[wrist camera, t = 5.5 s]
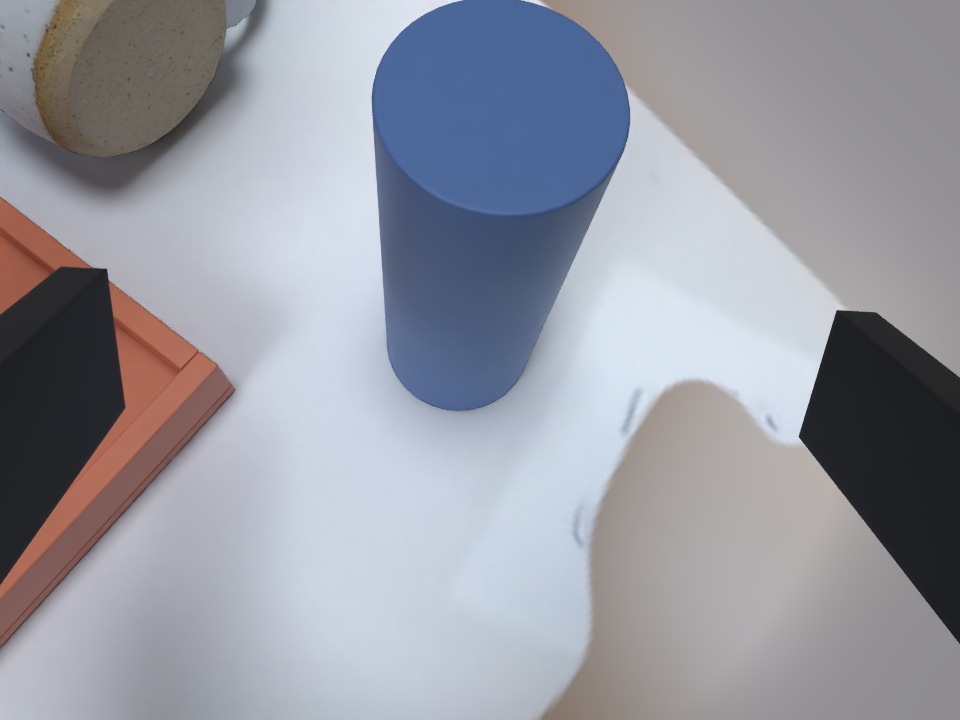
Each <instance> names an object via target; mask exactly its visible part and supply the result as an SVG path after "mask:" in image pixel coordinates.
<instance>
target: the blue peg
mask: <svg viewBox="0 0 960 720" xmlns="http://www.w3.org/2000/svg"><path fill="white" fill-rule="evenodd" d="M372 113H373V129H374V145H375V161H376V176H377V192H378V208H379V224H380V240H381V256H382V271H383V287H384V303H385V319H386V335H387V350H388V355H389V360H390V362H391V365H392V368H393V370H394V372H395V374H396V376H397V377H398V379H399V380H400V382H401V383H402V384H403V385H404V386H405V387H406V388H407V390H409V391H410V392H411V393H412V394H413V395H414V396H416V397H418V398H419V399H421V400H422V401H424V402H426V403H428V404H430V405H433V406H436V407H439V408H443V409H448V410H470V409H475V408H479V407H482V406H485V405H488V404H490V403H492V402H494V401H496V400H497V399H499V398H501V397H502V396H503V395H504V394H506V393H507V392H508V391H509V390H510V389H511V388H512V387H513V386H514V384H515V383H516V382H517V380H518V379H519V377H520V375H521V373H522V371H523V369H524V367H525V365H526V363H527V361H528V358H529V356H530V354H531V352H532V350H533V347H534V345H535V343H536V341H537V339H538V337H539V334H540V332H541V330H542V328H543V326H544V323H545V321H546V319H547V317H548V315H549V313H550V310H551V308H552V306H553V304H554V302H555V299H556V297H557V295H558V293H559V291H560V289H561V286H562V284H563V282H564V280H565V278H566V276H567V273H568V271H569V269H570V267H571V265H572V262H573V260H574V258H575V256H576V254H577V252H578V249H579V247H580V245H581V243H582V241H583V238H584V236H585V234H586V232H587V230H588V228H589V225H590V223H591V221H592V219H593V217H594V214H595V212H596V210H597V208H598V206H599V204H600V201H601V199H602V197H603V195H604V193H605V190H606V188H607V186H608V184H609V182H610V180H611V177H612V175H613V173H614V171H615V169H616V166H617V164H618V162H619V160H620V158H621V156H622V153H623V151H624V148H625V145H626V142H627V138H628V134H629V126H630V107H629V101H628V95H627V91H626V88H625V84H624V81H623V78H622V76H621V74H620V72H619V70H618V68H617V66H616V64H615V63H614V61H613V60H612V58H611V57H610V55H609V54H608V52H607V51H606V50H605V49H604V48H603V46H602V45H601V44H600V43H599V42H598V41H597V40H596V39H595V38H594V37H593V36H592V35H591V34H590V33H589V32H587V31H586V30H585V29H584V28H582V27H581V26H579V25H578V24H577V23H575V22H574V21H572V20H570V19H569V18H567V17H565V16H563V15H562V14H560V13H557V12H555V11H553V10H551V9H548V8H546V7H543V6H540V5H537V4H534V3H530V2H526V1H521V0H463V1H458V2H454V3H451V4H448V5H445V6H442V7H439V8H437V9H435V10H433V11H431V12H428V13H426V14H424V15H423V16H421V17H420V18H418V19H417V20H415V21H414V22H412V23H411V24H410V25H409V26H408V27H406V28H405V29H404V30H403V31H402V32H401V33H400V34H399V35H398V36H397V37H396V39H395V40H394V41H393V42H392V43H391V45H390V46H389V48H388V49H387V51H386V52H385V54H384V56H383V57H382V60H381V62H380V64H379V66H378V68H377V72H376V75H375V79H374V83H373V91H372Z"/></svg>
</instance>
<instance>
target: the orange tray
mask: <svg viewBox="0 0 960 720" xmlns="http://www.w3.org/2000/svg"><path fill="white" fill-rule="evenodd" d="M61 266H62V267H80V268H92V267H91V266H89V265H88V264H87V263H85V262H84V261H83V260H82V259H80V258H79V257H78V256H76V255H75V254H74V253H72V252H71V251H70V250H69V249H67V248H66V247H65V246H63V245H62V244H61V243H60V242H58V241H57V240H56V239H54V238H53V237H52V236H50V235H49V234H48V233H47V232H45V231H44V230H43V229H41V228H40V227H39V226H38V225H36V224H35V223H34V222H32V221H31V220H30V219H29V218H27V217H26V216H25V215H23V214H22V213H21V212H19V211H18V210H17V209H16V208H14V207H13V206H12V205H10V204H9V203H8V202H7V201H5V200H4V199H3V198H1V197H0V314H2V313H3V312H4V311H5V310H7V309H8V308H9V307H10V306H12V305H13V304H14V303H15V302H17V301H18V300H19V299H20V298H22V297H23V296H24V295H26V294H27V293H28V292H29V291H31V290H32V289H33V288H34V287H36V286H37V285H38V284H39V283H41V282H42V281H43V280H44V279H46V278H47V277H48V276H49V275H51V274H52V273H53V272H55V271H56V270H57V269H58V268H60V267H61ZM109 287H110V295H111V302H112V310H113V317H114V325H115V332H116V339H117V347H118V354H119V362H120V369H121V377H122V384H123V391H124V399H125V406H126V408H125V410H124V411H123V412H122V414H121V415H120V417H119V418H118V419H117V421H116V422H115V424H114V425H113V427H112V428H111V429H110V431H109V432H108V434H107V435H106V436H105V438H104V439H103V441H102V442H101V444H100V445H99V446H98V448H97V449H96V451H95V452H94V453H93V455H92V456H91V458H90V459H89V460H88V462H87V463H86V465H85V466H84V468H83V469H82V470H81V472H80V473H79V475H78V476H77V477H76V479H75V480H74V482H73V483H72V485H71V486H70V487H69V489H68V490H67V492H66V493H65V494H64V496H63V497H62V499H61V500H60V502H59V503H58V504H57V506H56V507H55V509H54V510H53V511H52V513H51V514H50V516H49V517H48V518H47V520H46V521H45V523H44V524H43V526H42V527H41V528H40V530H39V531H38V533H37V534H36V535H35V537H34V538H33V540H32V541H31V543H30V544H29V545H28V547H27V548H26V550H25V551H24V552H23V554H22V555H21V557H20V558H19V559H18V561H17V562H16V564H15V565H14V567H13V568H12V569H11V571H10V572H9V574H8V575H7V576H6V578H5V579H4V581H3V582H2V584H1V585H0V647H1V646H2V645H3V644H4V643H5V641H6V640H7V639H8V638H9V637H10V636H11V635H12V634H13V633H14V632H15V630H16V629H17V628H18V627H19V626H20V625H21V624H22V623H23V622H24V621H25V619H26V618H27V617H28V616H29V615H30V614H31V613H32V612H33V611H34V610H35V608H36V607H37V606H38V605H39V604H40V603H41V602H42V601H43V600H44V599H45V598H46V596H47V595H48V594H49V593H50V592H51V591H52V590H53V589H54V588H55V587H56V585H57V584H58V583H59V582H60V581H61V580H62V579H63V578H64V577H65V576H66V574H67V573H68V572H69V571H70V570H71V569H72V568H73V567H74V566H75V565H76V563H77V562H78V561H79V560H80V559H81V558H82V557H83V556H84V555H85V554H86V553H87V551H88V550H89V549H90V548H91V547H92V546H93V545H94V544H95V543H96V542H97V540H98V539H99V538H100V537H101V536H102V535H103V534H104V533H105V532H106V531H107V529H108V528H109V527H110V526H111V525H112V524H113V523H114V522H115V521H116V520H117V518H118V517H119V516H120V515H121V514H122V513H123V512H124V511H125V510H126V509H127V508H128V506H129V505H130V504H131V503H132V502H133V501H134V500H135V499H136V498H137V497H138V495H139V494H140V493H141V492H142V491H143V490H144V489H145V488H146V487H147V486H148V484H149V483H150V482H151V481H152V480H153V479H154V478H155V477H156V476H157V475H158V473H159V472H160V471H161V470H162V469H163V468H164V467H165V466H166V465H167V464H168V463H169V461H170V460H171V459H172V458H173V457H174V456H175V455H176V454H177V453H178V452H179V450H180V449H181V448H182V447H183V446H184V445H185V444H186V443H187V442H188V441H189V439H190V438H191V437H192V436H193V435H194V434H195V433H196V432H197V431H198V430H199V428H200V427H201V426H202V425H203V424H204V423H205V422H206V421H207V420H208V419H209V418H210V416H211V415H212V414H213V413H214V412H215V411H216V410H217V409H218V408H219V407H220V405H221V404H222V403H223V402H224V401H225V400H226V399H227V398H228V397H229V396H230V394H231V393H232V392H233V391H234V387H233V386H232V384H231V383H230V381H229V380H228V379H227V377H226V376H225V374H224V373H223V372H222V370H221V369H220V367H219V366H218V365H217V364H216V363H215V362H213V361H212V360H211V359H210V358H208V357H207V356H206V355H204V354H203V353H202V352H199V350H198V349H197V348H195V347H194V346H193V345H191V344H190V343H189V342H188V341H186V340H185V339H184V338H182V337H181V336H180V335H179V334H177V333H176V332H175V331H173V330H172V329H171V328H169V327H168V326H167V325H166V324H164V323H163V322H162V321H160V320H159V319H158V318H157V317H155V316H154V315H153V314H151V313H150V312H149V311H147V310H146V309H145V308H144V307H142V306H141V305H140V304H138V303H137V302H136V301H135V300H133V299H132V298H131V297H129V296H128V295H127V294H125V293H124V292H123V291H122V290H120V289H119V288H118V287H116V286H115V285H114V284H113V283H111V282H110V281H109Z"/></svg>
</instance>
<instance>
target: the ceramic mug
mask: <svg viewBox="0 0 960 720" xmlns="http://www.w3.org/2000/svg"><path fill="white" fill-rule="evenodd" d="M255 4H256V0H0V109H1V110H2V111H3V112H4V113H6V114H7V115H8V116H10V117H11V118H12V119H13V120H15V121H16V122H17V123H19V124H20V125H22V126H23V127H25V128H26V129H28V130H29V131H31V132H33V133H34V134H36V135H38V136H40V137H42V138H44V139H46V140H48V141H50V142H52V143H54V144H56V145H58V146H61V147H63V148H65V149H67V150H69V151H71V152H73V153H77V154H81V155H85V156H93V157H111V156H117V155H121V154H125V153H129V152H133V151H136V150H138V149H141V148H143V147H145V146H148V145H150V144H152V143H153V142H155V141H156V140H158V139H159V138H161V137H162V136H164V135H165V134H167V133H169V132H170V131H171V130H172V129H173V128H174V127H176V126H177V125H178V124H179V123H180V122H181V121H182V120H183V119H184V118H185V117H186V116H187V114H188V113H189V112H190V111H191V110H192V109H193V107H194V106H195V105H196V104H197V103H198V101H199V100H200V98H201V97H202V96H203V94H204V93H205V91H206V89H207V87H208V85H209V83H210V82H211V80H212V78H213V76H214V74H215V71H216V69H217V66H218V63H219V61H220V58H221V55H222V52H223V46H224V40H225V35H226V29H227V28H230V27H233V26H235V25H237V24H238V23H239V22H240V21H241V20H242V19H243V18H245V17H247V16H248V15H249V14H250V12H251V11H252V10H253V8H254V6H255Z"/></svg>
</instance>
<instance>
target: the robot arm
mask: <svg viewBox="0 0 960 720" xmlns="http://www.w3.org/2000/svg"><path fill="white" fill-rule="evenodd" d="M125 408H126V406H125V399H124V391H123V384H122V377H121V369H120V362H119V354H118V347H117V339H116V332H115V325H114V317H113V310H112V302H111V295H110V287H109V280H108V273H107V269H98V268H80V267H62V266H61V267H60V268H58V269H57V270H56V271H55V272H53V273H52V274H51V275H49V276H48V277H47V278H46V279H44V280H43V281H42V282H41V283H39V284H38V285H37V286H36V287H34V288H33V289H32V290H31V291H29V292H28V293H27V294H26V295H24V296H23V297H22V298H20V299H19V300H18V301H17V302H15V303H14V304H13V305H12V306H10V307H9V308H8V309H7V310H5V311H4V312H3V313H2V314H0V585H1V584H2V582H3V581H4V579H5V578H6V576H7V575H8V574H9V572H10V571H11V569H12V568H13V567H14V565H15V564H16V562H17V561H18V559H19V558H20V557H21V555H22V554H23V552H24V551H25V550H26V548H27V547H28V545H29V544H30V543H31V541H32V540H33V538H34V537H35V535H36V534H37V533H38V531H39V530H40V528H41V527H42V526H43V524H44V523H45V521H46V520H47V518H48V517H49V516H50V514H51V513H52V511H53V510H54V509H55V507H56V506H57V504H58V503H59V502H60V500H61V499H62V497H63V496H64V494H65V493H66V492H67V490H68V489H69V487H70V486H71V485H72V483H73V482H74V480H75V479H76V477H77V476H78V475H79V473H80V472H81V470H82V469H83V468H84V466H85V465H86V463H87V462H88V460H89V459H90V458H91V456H92V455H93V453H94V452H95V451H96V449H97V448H98V446H99V445H100V444H101V442H102V441H103V439H104V438H105V436H106V435H107V434H108V432H109V431H110V429H111V428H112V427H113V425H114V424H115V422H116V421H117V419H118V418H119V417H120V415H121V414H122V412H123V411H124V410H125ZM799 438H800V439H801V440H802V442H803V443H804V444H805V446H806V447H807V448H808V449H809V451H810V452H811V453H812V455H813V456H814V457H815V458H816V460H817V461H818V462H819V463H820V465H821V466H822V467H823V469H824V470H825V471H826V472H827V474H828V475H829V476H830V477H831V479H832V480H833V481H834V483H835V484H836V485H837V486H838V488H839V489H840V490H841V492H842V493H843V494H844V496H845V497H846V498H847V500H848V501H849V502H850V503H851V505H852V506H853V507H854V509H855V510H856V511H857V512H858V514H859V515H860V516H861V517H862V519H863V520H864V521H865V522H866V524H867V525H868V526H869V528H870V529H871V530H872V532H873V533H874V534H875V535H876V537H877V538H878V539H879V541H880V542H881V543H882V544H883V546H884V547H885V548H886V550H887V551H888V552H889V553H890V555H891V556H892V557H893V559H894V560H895V561H896V563H897V564H898V565H899V566H900V568H901V569H902V570H903V571H904V573H905V574H906V575H907V577H908V578H909V579H910V580H911V582H912V583H913V584H914V585H915V587H916V588H917V590H918V591H919V592H920V593H921V595H922V596H923V597H924V598H925V600H926V601H927V602H928V604H929V605H930V606H931V607H932V609H933V610H934V611H935V613H936V614H937V615H938V617H939V618H940V619H941V620H942V622H943V623H944V624H945V626H946V627H947V628H948V629H949V631H950V632H951V633H952V635H953V636H954V637H955V638H956V639H957V641H958V642H959V643H960V377H958V376H957V375H956V374H954V373H953V372H952V371H951V370H949V369H948V368H947V367H945V366H944V365H943V364H942V363H940V362H939V361H938V360H936V359H935V358H934V357H933V356H931V355H930V354H929V353H927V352H926V351H925V350H924V349H922V348H921V347H920V346H918V345H917V344H916V343H915V342H913V341H912V340H911V339H909V338H908V337H907V336H906V335H904V334H903V333H902V332H900V331H899V330H898V329H897V328H895V327H894V326H893V325H891V324H890V323H889V322H887V321H886V320H885V319H884V318H882V317H881V316H880V315H879V314H877V313H874V312H858V311H840V310H837V311H836V314H835V318H834V321H833V324H832V328H831V331H830V334H829V338H828V341H827V344H826V348H825V351H824V354H823V358H822V361H821V364H820V368H819V371H818V374H817V378H816V381H815V384H814V388H813V391H812V394H811V398H810V401H809V404H808V408H807V411H806V414H805V418H804V421H803V424H802V428H801V431H800V434H799Z"/></svg>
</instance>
